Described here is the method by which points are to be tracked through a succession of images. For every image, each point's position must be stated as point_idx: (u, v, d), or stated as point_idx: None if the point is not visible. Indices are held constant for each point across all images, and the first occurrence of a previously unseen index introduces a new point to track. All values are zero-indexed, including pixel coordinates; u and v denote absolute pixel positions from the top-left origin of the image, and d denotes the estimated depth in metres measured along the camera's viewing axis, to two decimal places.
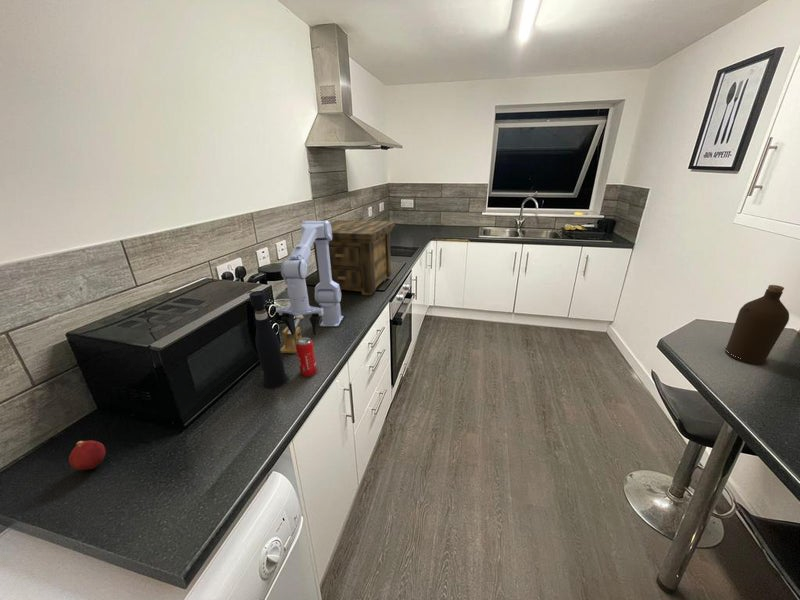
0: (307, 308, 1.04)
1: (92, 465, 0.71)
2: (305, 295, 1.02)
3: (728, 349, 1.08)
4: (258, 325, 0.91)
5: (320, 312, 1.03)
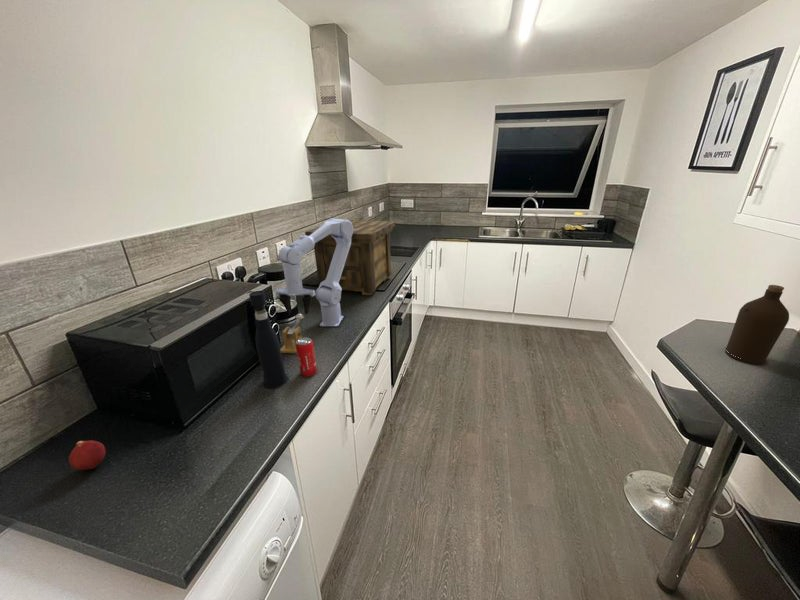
0: (301, 289, 1.18)
1: (92, 465, 0.71)
2: (295, 279, 1.16)
3: (728, 349, 1.08)
4: (258, 326, 0.91)
5: (312, 293, 1.18)
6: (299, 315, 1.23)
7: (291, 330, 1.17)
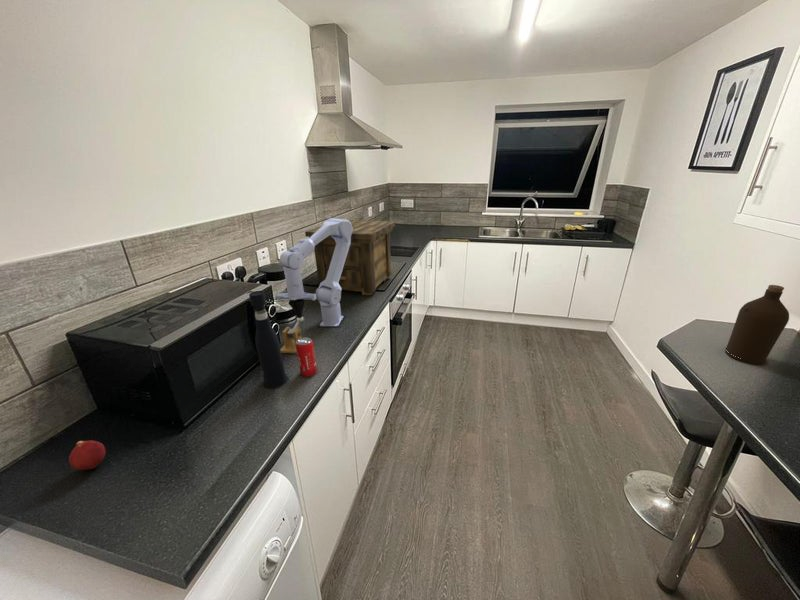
0: (302, 294, 1.19)
1: (92, 465, 0.71)
2: (296, 283, 1.16)
3: (728, 349, 1.08)
4: (258, 326, 0.91)
5: (313, 297, 1.19)
6: None
7: (291, 330, 1.17)
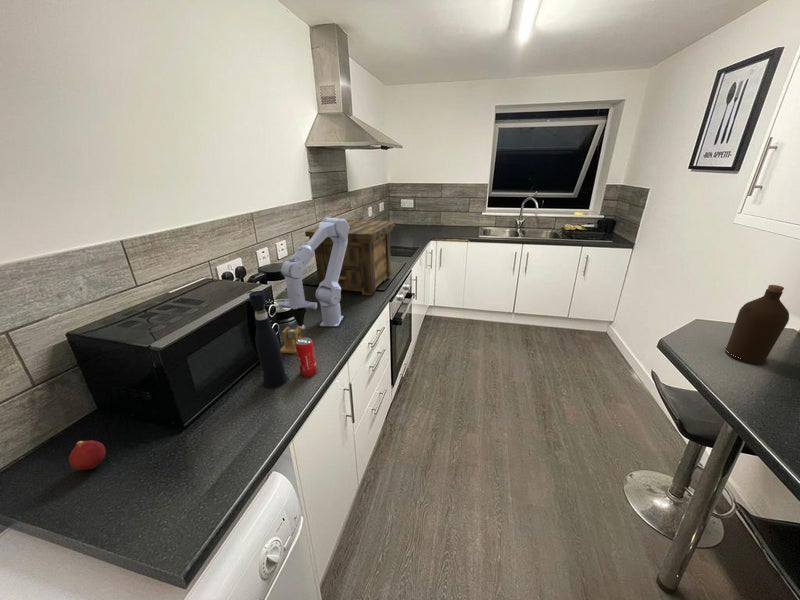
0: (303, 302, 1.21)
1: (92, 465, 0.71)
2: (298, 292, 1.18)
3: (728, 349, 1.08)
4: (258, 326, 0.91)
5: (314, 306, 1.21)
6: None
7: (292, 330, 1.17)
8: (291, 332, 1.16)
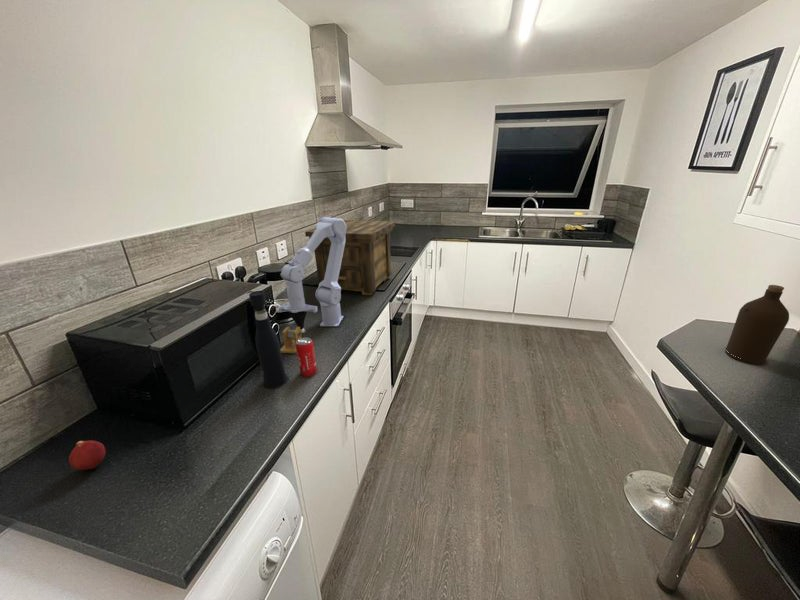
0: (303, 306, 1.21)
1: (92, 465, 0.71)
2: (298, 296, 1.18)
3: (728, 349, 1.08)
4: (258, 326, 0.91)
5: (314, 309, 1.21)
6: None
7: (292, 330, 1.18)
8: (291, 331, 1.16)
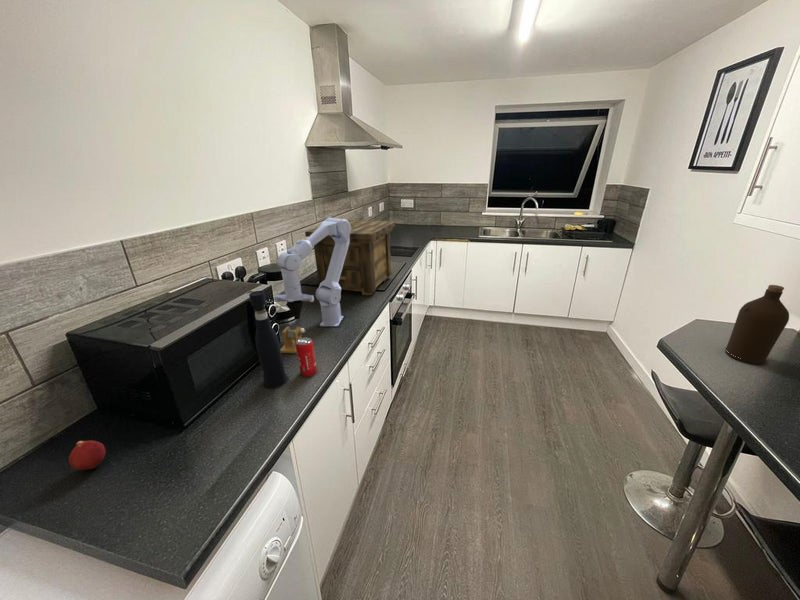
0: (300, 295, 1.19)
1: (92, 465, 0.71)
2: (294, 285, 1.16)
3: (728, 349, 1.08)
4: (258, 326, 0.91)
5: (311, 298, 1.19)
6: (302, 328, 1.26)
7: (292, 330, 1.18)
8: (291, 331, 1.16)
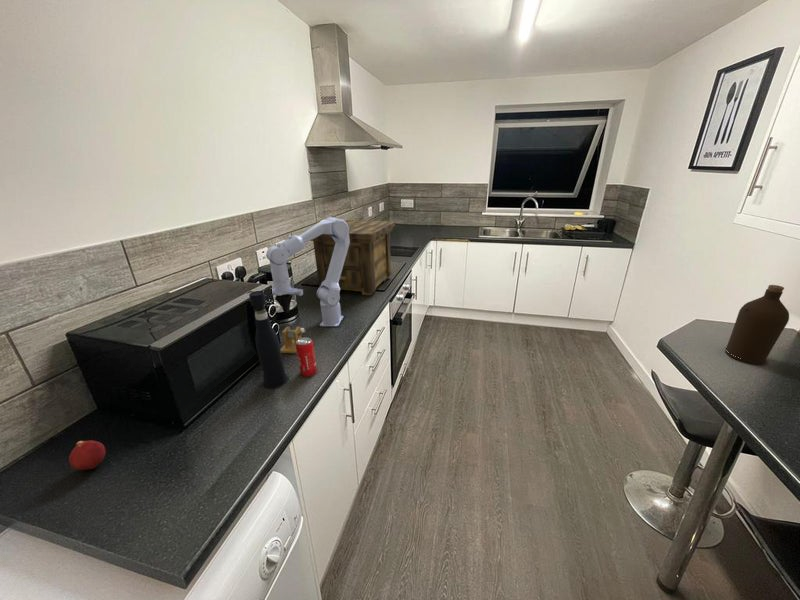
0: (288, 289, 1.19)
1: (92, 465, 0.71)
2: (280, 279, 1.16)
3: (728, 349, 1.08)
4: (258, 326, 0.91)
5: (300, 292, 1.19)
6: (302, 328, 1.26)
7: (292, 330, 1.18)
8: (291, 331, 1.16)
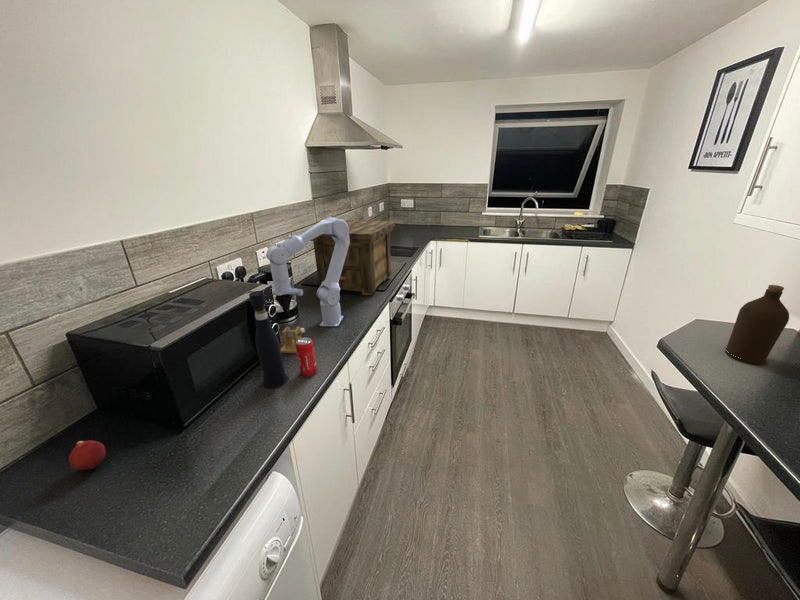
0: (288, 289, 1.19)
1: (92, 465, 0.71)
2: (280, 279, 1.16)
3: (728, 349, 1.08)
4: (258, 326, 0.91)
5: (300, 292, 1.19)
6: (302, 328, 1.26)
7: (292, 330, 1.18)
8: (291, 331, 1.16)
